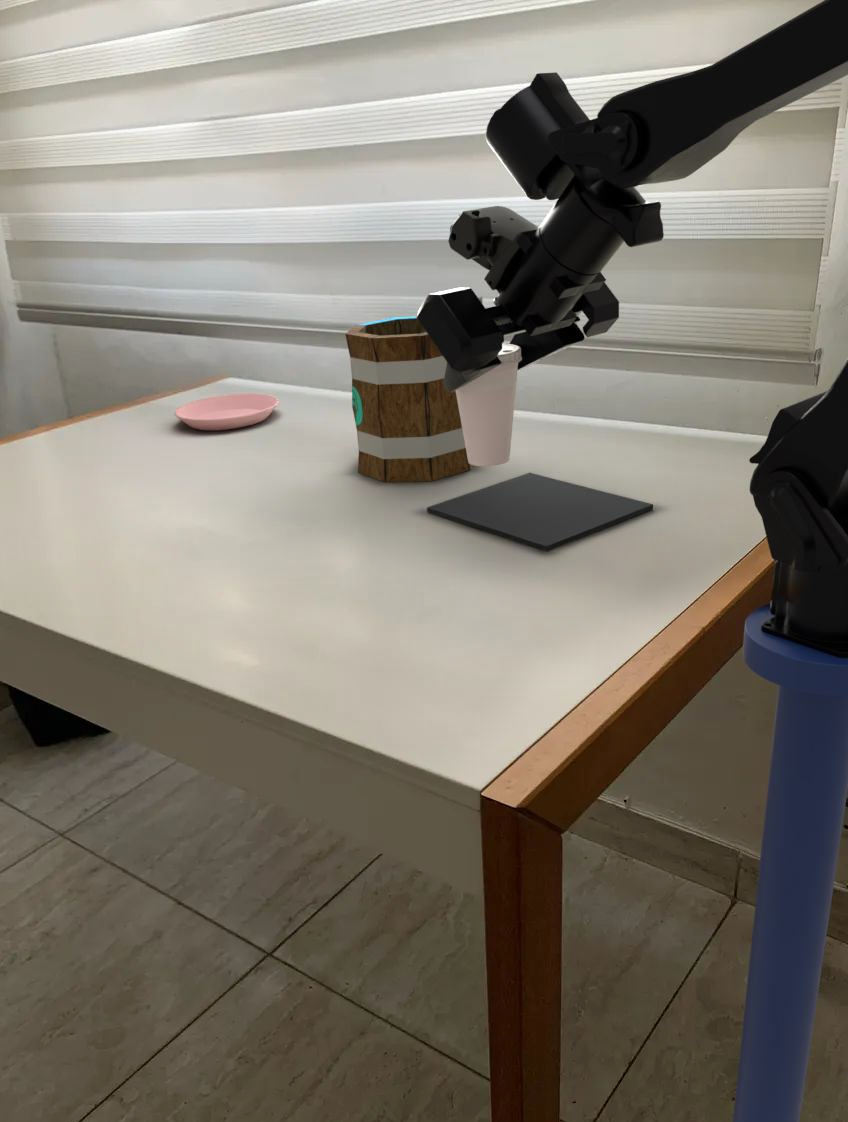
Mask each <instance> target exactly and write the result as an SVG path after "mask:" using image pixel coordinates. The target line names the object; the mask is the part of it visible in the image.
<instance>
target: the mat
mask: <svg viewBox="0 0 848 1122" xmlns="http://www.w3.org/2000/svg"><path fill="white" fill-rule="evenodd" d="M653 509H654V504H653V503H649V502H645V501H641V500H637V499H634V498H631V497H626V496H622V495H618V494H614V493H611V492H608V491H607V492H606V491H603V490H599V489H595V488H591V487H587V486H583V485H580V484H575V483H571V482H567V481H565V480H560V479H555V478H552V477H549V476H545V475H540V474H537V473H533V472H527V473H525V474H522V475H519V476H516V477H513V478H509V479H507V480H504V481H501V482H498V483H495V484H492V485H489V486H486V487H484V488H480V489H477V490H474V491H472V492H468V493H465V494H462V495H460V496H456V497H454V498H450V499H447V500H444V501H442V502H438V503H436V504H433V505H429V506H427V507H426V512H427V513H428V514H433V515H435V516H438V517H441V518H443V519H447V520H451V521H453V522H456V523H459V524H462V525H465V526H468V527H471V528H473V529H474V528H475V529H478V530H481V531H483V532H486V533H490V534H493V535H494V536H499V537H501V538H503V539H507V540H510V541H513V542H517V543H520V544H523V545H526V546H529V547H531V548H534V549H538V550H541V551H544V552H549V551H551V550H554V549H556V548H558V547H562V546H564V545H567V544H569V543H572V542H574V541H577V540H579V539H581V538H584V537H586V536H589V535H591V534H595V533H596V532H599V531H602V530H605V529H607V528H609V527H611V526H614V525H616V524H620V523H622V522H624V521H627V520H629V519H632V518H634V517H637V516H639V515H642V514H645V513H647V512H650V511H652V510H653Z"/></svg>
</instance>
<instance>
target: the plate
mask: <svg viewBox="0 0 848 1122" xmlns="http://www.w3.org/2000/svg"><path fill="white" fill-rule="evenodd" d="M279 402H280V401H279V399H278V397H276V396H273V395H269V394H264V393H263V394H262V393H237V394H236V393H234V394H225V395H217V396H211V397H207V398H201V399H198V400H195V401H191V402H188V403H185V404H183V405H182V406H179V407H177V408H176V409H175V411H174V416H175V417H176V418H178V419H179V420H180V421H182V422H183V423H184V424H186V425H187V426H189V427H190V428H192V429H195V430H200V431H227V430H228V431H229V430H235V429H240V428H245V427H249V426H254V425H256V424H259V423H261V422H263V421H265V420H266V419H267V418H268V417H269V416H270V415H271V414H272V413H273V411H274V410H275V408H276V407H278V405H279Z"/></svg>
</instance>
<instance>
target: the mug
mask: <svg viewBox="0 0 848 1122" xmlns="http://www.w3.org/2000/svg"><path fill="white" fill-rule="evenodd" d="M344 335H345V339H346V345H347V349H348V354H349V360H350V361H349V363H350V371H351V407H352V412H353V415H354V416H353V417H354V418H353V419H354V422H355V428H356V434H357V447H358V457H357V458H358V459H357V460H358V461H357V464H358V465H357V472H358V474H361V475H364V476H366V477H369V478H372V479H374V480H376V481H380V482H382V483H402V482H403V483H406V482H407V483H409V482H434V481H437V480H440V479H444V478H448V477H452V476H454V475H458V474H461V473H464V472H468V471H471V469H472V467H473V465H471V464H469V463H468V458H467V452H466V447H465V441H464V435H463V430H462V424H461V419H460V413H459V407H458V402H457V396H456V390H455V391H454V392H448V390H447V389H446V387H445V386H444V383H443V382H444V376H445V371H446V365H447V361H446V360H445V358H444V357H443V356H442V354H441V353H440V351H439V350H438V348H437V347H436V345H435V344H434V342H433V341H432V340H431V338H430V337H429V335H428V334H427V332H426V331H425V329H424V328H423V326H422V325H421V324H420V322H419V321H418V319H417V315H416V316H415V315H413V316H411V315H410V316H397V317H396V316H395V317H390V318H383V319H380V320H375V321H369V322H364V323H359V324H355V325H354V326H352V327H351V328H350V329H348V331H346V332H345V333H344Z"/></svg>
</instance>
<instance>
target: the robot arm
mask: <svg viewBox="0 0 848 1122" xmlns="http://www.w3.org/2000/svg"><path fill="white" fill-rule="evenodd" d="M847 76H848V0H822V1H821V2H819V3H817V4H816V5H814V6H812V7H810V8H808V9H807V10H805V11H804V12H802V13H800V14H798V15H797V16H795V17H793V18H791V19H790V20H787V21H786V22H783V24H780V25H779V26H777V27H776V28H773V29H772V30H771V31H768V32H767V33H765V34H763V35H762V36H760V37H758V38H756V39H755V40H753V41H750V42H749V43H747V44H746V45H744V46H743V47H741V48H739V49H737V50H735V51H734V52H732V53H730V54H728V55H726V56H724V57H723V58H721V59H720V60H719V61H718V60H717V61H716V62H715V63H712V64H710V65H708V66H705V67H702V68H699V69H696V70H693V71H690V72H686V73H682V74H679V75H675V76H671V77H667V78H663V79H660V80H656V81H652V82H649V83H647V84H643V85H641V86H638V87H635V88H632V89H629V90H626V91H623V92H621V93H618V94H616V95H614V96H612V97H611V98H609V99H608V100H607V101H606V102H605V103H604V104H603V105H602V107H601V108H600V109H599V111H598V112H597V115H596V117H594V118H592V119H590V118H589V117H588V115H587V114H586V112H585V111H584V110H583V109H582V107H581V106H580V105H579V104H578V102H577V101H576V99H575V98H574V97H573V96H572V95H571V93H570V91H569V89H568V87H567V84H566V83H565V81H564V80H563V79H562V77H561V76H560V75H559V73H558V72H557V71H556V72H537V73H536V74H535V76H534V78H533V79H532V81H531V83H530V84H529V86H526V87H524V88H522V89H521V90H519V91H518V92H516V93H515V94H514V95H512V96H511V97H509V99H507V101H506V102H505V103H504V104H503V105H502V106H501V107H500V108H498V109H496V110H495V111H494V113H493V114H492V116H491V117H490V119H489V121H488V124H487V125H486V129H485V141H486V142H487V144H488V145H489V147H490V148H491V150H492V151H493V152H494V153H495V155H496V156H497V158H498V159H499V161H500V162H501V163H502V164H503V166H504V167H505V169H506V170H507V172H508V173H509V174H510V175H511V177H512V178H513V179H514V181H515V182H516V184H517V185H518V186H519V188H520V189H521V190H522V191H523V193H524V195H525V196H526V197H527V198H528V199H530V200H532V201H540V200H543V199H546V200H549V201H555V200H556V202H555V203H554V205H553V206H552V207H551V209H550V211H549V212H548V213H547V215H546V216H545V218H544V219H543V221H542V222H541V223H540V225H539V227H538V226H537V225H536V224H535V223H533V222H532V221H530V220H528V219H527V218H525V217H524V216H522V215H520V214H519V213H517V212H516V211H514V210H512V209H511V208H509V207H506V206H502V205H493V206H488V207H479V208H475V209H469V210H463V211H462V212H461V213H460V214H458V217H457V218H456V220H455V221H454V222H453V223H452V224H451V225H450V228H449V237H448V244H449V248H450V249H451V250H452V251H454V253H456V254H458V255H459V256H460V257H463V258H464V259H466V260H467V261H468V260H472V261H474V262H475V263H476V264H478V265H479V266H481V267H483V268H484V269H485V270H488V272H487V273H486V275H485V277H484V278H483V280H484V281H485V282H486V284H487V285H488V287H489V288H490V290H491V291H497V293H498V295H497V296H496V297H494V299H493V300H492V303H493V305H494V306H490V307H485V305H484V304H482V303H481V301H480V300H479V299H478V295H477V294H476V293H475V292H474V290H473V289H472V288H471V287H456V288H451V289H446V290H442V291H441V290H440V291H437V292H432V293H428V294H427V295H426V297H425V299H424V300H423V302H422V304H421V305H420V307H419V309H418V310H417V312H416V313H417V314H416V316H417V319H418V321H419V322H420V324H421V325H422V326H423V328H424V329H425V331H426V332H427V334H428V335H429V337H430V338H431V340H432V341H433V342H434V344H435V345H436V347H437V348H438V350H439V351H440V353H441V354H442V356H443V357H444V358H445V360H446V361H447V365H446V371H445V376H444V382H443V383H444V386H445V387H446V389H447V390H448V392H454V391H455V390H457V389H459V388H461V387H463V386H465V385H466V384H468V383H470V382H471V381H473V380H475V379H476V378H478V377H480V376H481V375H483V374H485V373H486V372H488V371H490V370H492V369H493V368H495V367H497V366H499V365H500V364H501V363H502V362H501V361H500V359H499V358H498V357H497V355H498V354H499V352H500V351H501V350H502V344H504V343H505V338H507V337H510V336H512V338H511V340H510V342H509V343H508V344H513V345H517V346H519V347H520V348H521V357H522V360H521V361H520V362H518V370H517V372H519V371H521V370H522V369H525V368H528V367H529V366H532V365H533V364H535V363H538V362H540V361H542V360H544V359H546V358H548V357H550V356H553V355H555V354H557V353H559V352H561V351H564V350H567V349H568V348H570V347H572V346H575V345H577V344H581V343H582V342H583V341H585V339H586V338H591V337H595V336H599V335H602V334H606V333H607V332H608V331H609V330H610V329H611V328H612V326H613V325H614V324H615V323H616V321H618V319H619V318H620V300H618V298H617V296H616V295H615V294H614V293H613V292H612V289H610V287H609V286H608V284H606V281H607V279H606V277H605V276H604V275H603V273H602V270H603V269H604V268H605V266H606V265H607V264H608V263H609V261H610V260H611V259H612V258H613V257H614V256H615V254H616V252H617V251H618V250H619V249H620V247H621V246H622V245H623V243H625V245H626V246H627V247H629V248H634V247H639V246H644V245H647V244H648V245H649V244H654V243H658V242H661V241H663V239H664V235H665V233H664V223H663V221H662V217H661V211H662V210H661V209H662V203H661V202H660V201H651V202H649V201H647V200H645V198H644V197H643V195H642V194H641V193H640V192H639V190H638V189H637V188H636V187H641V186H642V187H643V186H648V185H654V184H661V183H667V182H668V183H669V182H675V181H680V180H683V179H685V178H687V177H689V176H691V175H692V174H694V173H695V172H697V171H698V170H699V169H701V168H702V167H703V166H705V165H706V164H707V163H709V162H710V161H712V160H713V159H714V158H716V157H717V156H719V155H720V154H721V153H722V152H724V151H725V150H726V149H727V148H728V147H729V146H730V145H731V144H732V143H733V141H735V139H736V138H737V137H738V136H739V134H741V133H742V132H743V131H744V130H745V129H747V128H749V127H750V126H751V125H753V124H754V123H755V122H757V121H758V120H761V119H762V118H763V119H764V118H765V117H767V116H769V115H771V114H773V113H775V112H777V111H778V110H781V109H782V108H785V107H786V106H788V105H790V104H792V103H795V102H797V101H798V100H801V99H802V98H805V97H806V96H808V95H810V94H812V93H814V92H816V91H818V90H821V89H822V88H824V87H827V86H828V85H831V84H832V83H835V82H836V81H838V80H840V79H842V78H844V77H847ZM581 313H583V314H584V316H585V317H586V318H587V319H588V320H587V322H586V323H585V324H584V325H583V326H582V330H581V328H580V327H579V325H578V324H579V322H580V321H581V317H579V316H580V315H581ZM585 336H586V337H585ZM749 463H750V464H754V465H755V464H756V465H757V466H756V467H755V468H754V470H753V472H752V475H751V478H750V481H749V493H750V495H751V496H752V498H753V502H754V507H755V509H756V510H757V511H758V513H759V515H760V517H761V520H762V524H763V529H764V532H765V537H766V540H767V545H768V548H769V552H770V556H771V559H773V560H774V564H773V565H774V566H773V576H772V586H771V597H770V603H771V605H770V612H771V614H772V615H774V616H775V617H773V618H771V619H769V620H767V621H765V622H763V623H762V624H761V631H762V632H764V633H767V634H770V635H773V636H776V637H779V638H782V639H785V640H788V641H791V642H794V643H797V644H800V645H803V646H806V647H809V648H812V649H815V650H818V651H821V652H824V653H827V654H829V655H832V656H835V657H839V658H848V357H847V358H846V359H845V362H844V364H843V365H842V366H841V368H840V370H839V372H838V374H837V376H835V379H834V380H833V382H832V384H831V385H830V388H829V389H828V390H826V391H823V392H820V393H818V394H815V395H813V396H811V397H808V398H806V399H803V400H800V401H798V402H796V403H793V404H791V405H788V406H786V407H783V408H780V410H778V412H777V414H776V416H775V417H774V419H773V421H772V424H771V425H770V429H769V431H768V435H767V437H766V440H765V442H764V444H763V445H762V446H761V448H760V449H759V450H758V451H756V453H755V454H753V455H752V456H751V457H750V458H749Z"/></svg>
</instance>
